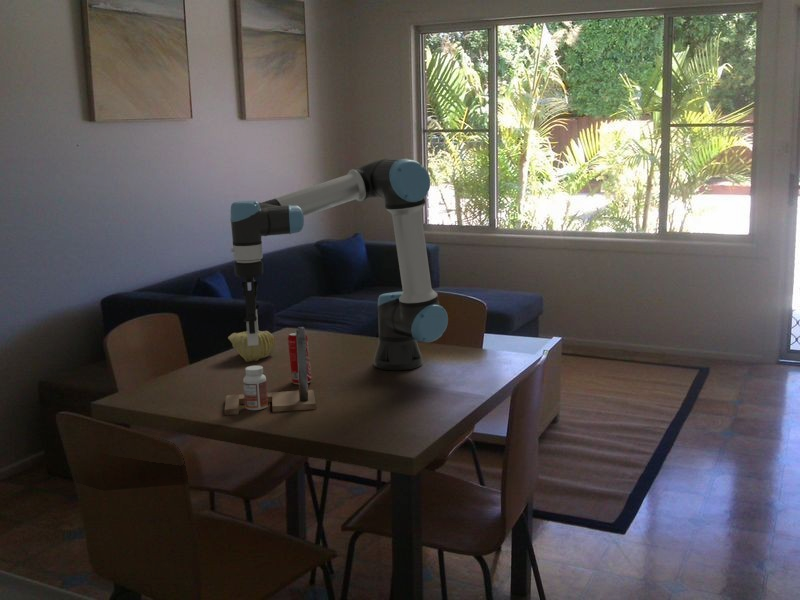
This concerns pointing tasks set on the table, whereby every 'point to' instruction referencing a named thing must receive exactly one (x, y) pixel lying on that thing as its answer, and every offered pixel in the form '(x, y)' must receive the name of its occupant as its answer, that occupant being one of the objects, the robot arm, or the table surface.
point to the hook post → (302, 364)
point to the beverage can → (293, 358)
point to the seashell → (255, 351)
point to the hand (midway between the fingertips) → (253, 339)
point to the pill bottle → (255, 388)
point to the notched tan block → (274, 402)
